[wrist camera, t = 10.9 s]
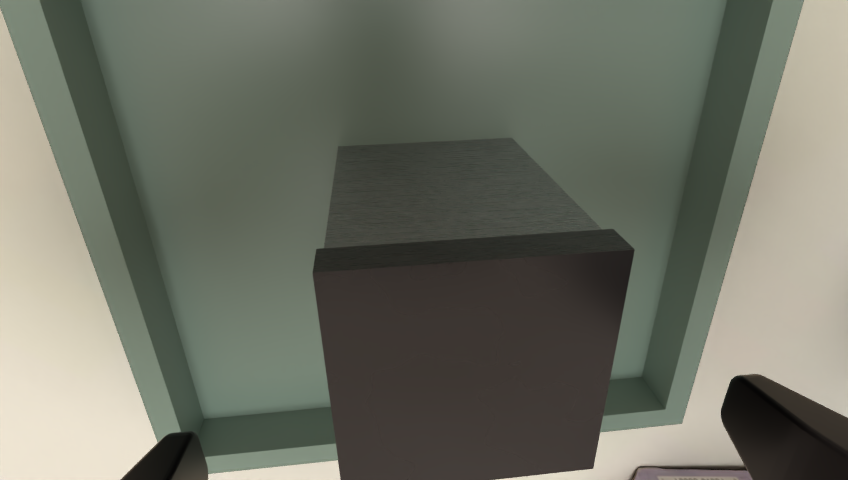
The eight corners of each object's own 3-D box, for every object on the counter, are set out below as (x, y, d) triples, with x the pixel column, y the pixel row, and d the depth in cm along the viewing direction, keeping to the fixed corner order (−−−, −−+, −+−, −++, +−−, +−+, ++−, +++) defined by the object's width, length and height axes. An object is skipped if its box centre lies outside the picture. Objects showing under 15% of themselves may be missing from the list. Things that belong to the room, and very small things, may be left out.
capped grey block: (515, 133, 15) (635, 249, 8) (505, 286, 17) (593, 468, 11) (334, 142, 14) (312, 272, 8) (349, 298, 17) (343, 496, 10)
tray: (754, -86, 14) (832, -99, 11) (647, 376, 21) (681, 423, 19) (37, -78, 12) (-36, -93, 10) (192, 420, 19) (170, 477, 17)
